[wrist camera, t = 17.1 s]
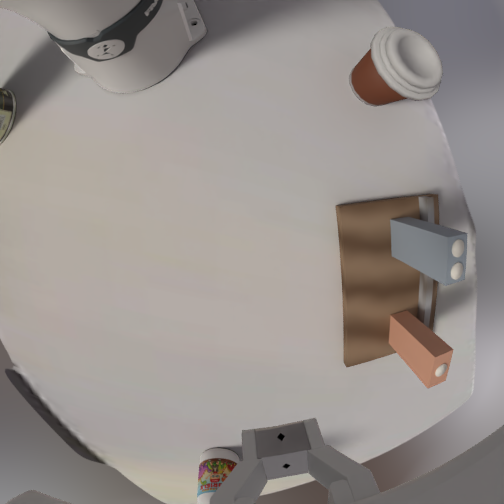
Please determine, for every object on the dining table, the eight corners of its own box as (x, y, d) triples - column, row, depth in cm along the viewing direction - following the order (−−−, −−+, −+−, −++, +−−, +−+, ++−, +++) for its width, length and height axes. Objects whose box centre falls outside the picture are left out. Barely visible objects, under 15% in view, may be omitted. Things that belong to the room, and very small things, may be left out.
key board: (335, 205, 35) (345, 208, 32) (431, 193, 36) (446, 195, 32) (343, 362, 41) (351, 374, 38) (426, 336, 41) (437, 345, 38)
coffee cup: (408, 103, 32) (462, 85, 21) (362, 125, 33) (412, 107, 21) (376, 49, 30) (420, 16, 19) (327, 66, 31) (363, 27, 19)
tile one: (390, 315, 38) (435, 358, 26) (407, 310, 38) (454, 350, 26) (388, 343, 39) (428, 389, 27) (404, 338, 39) (446, 381, 27)
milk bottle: (245, 462, 46) (251, 544, 27) (211, 469, 47) (209, 547, 27) (229, 443, 44) (231, 533, 25) (193, 450, 45) (185, 536, 25)
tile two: (390, 219, 34) (449, 237, 23) (408, 216, 35) (468, 233, 23) (391, 256, 36) (446, 286, 24) (409, 252, 36) (465, 280, 24)
